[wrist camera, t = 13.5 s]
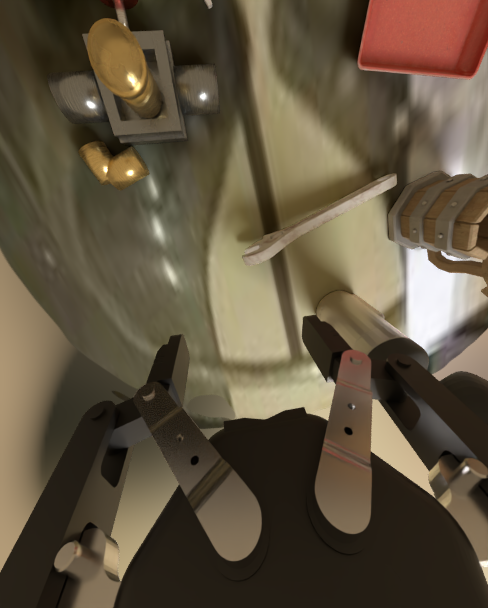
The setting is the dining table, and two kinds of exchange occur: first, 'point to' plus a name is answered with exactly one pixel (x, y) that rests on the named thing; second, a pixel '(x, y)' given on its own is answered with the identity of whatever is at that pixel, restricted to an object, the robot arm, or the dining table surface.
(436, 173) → the tankard
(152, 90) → the brass knob
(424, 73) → the plant saucer
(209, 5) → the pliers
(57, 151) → the dining table surface
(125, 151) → the brass elbow
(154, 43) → the valve body
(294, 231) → the wrench
